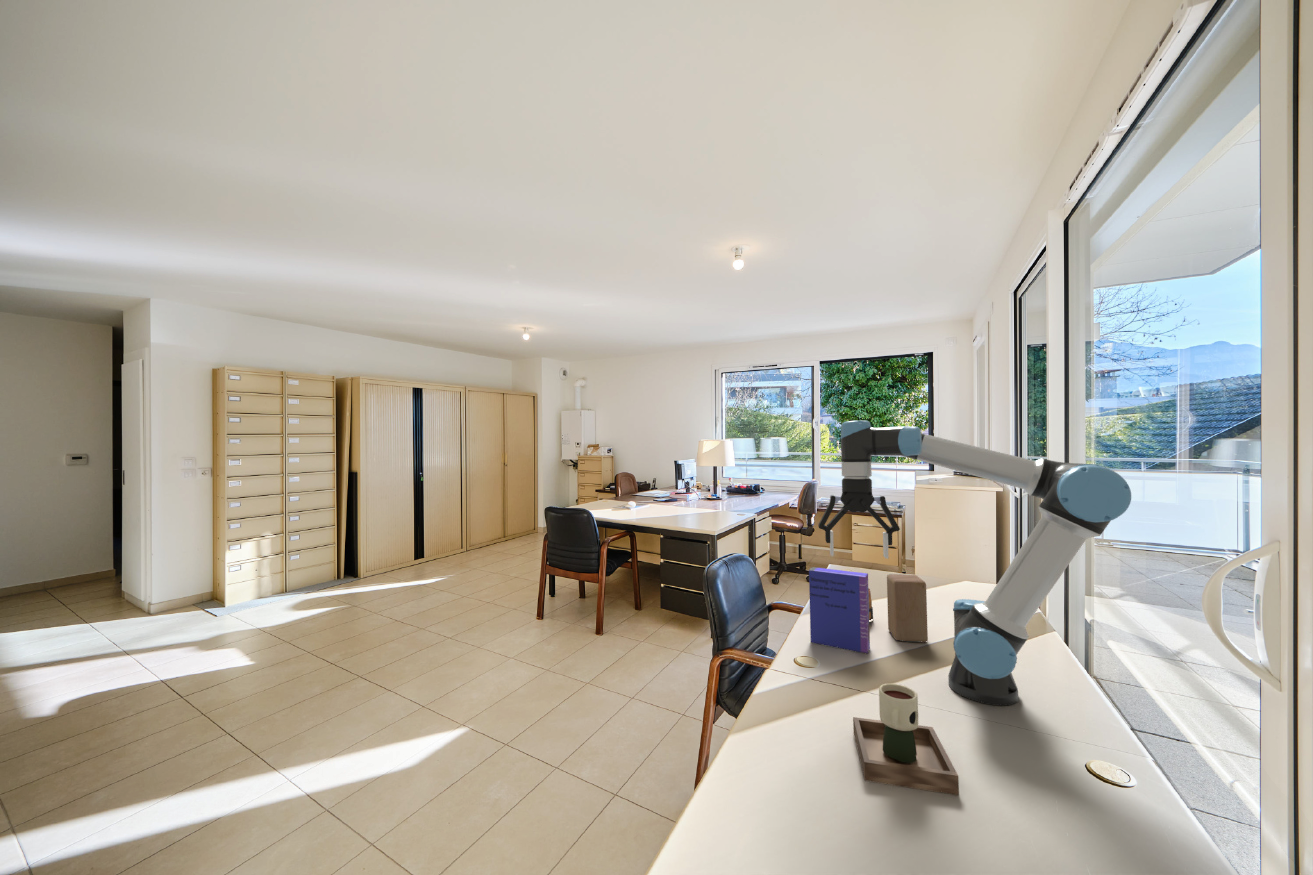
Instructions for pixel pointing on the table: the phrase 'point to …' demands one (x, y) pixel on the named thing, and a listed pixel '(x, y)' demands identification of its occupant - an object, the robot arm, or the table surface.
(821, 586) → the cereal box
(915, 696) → the character mug
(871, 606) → the ammunition clip
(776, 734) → the table surface
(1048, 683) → the table surface
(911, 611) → the wooden block
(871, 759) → the walnut tray
